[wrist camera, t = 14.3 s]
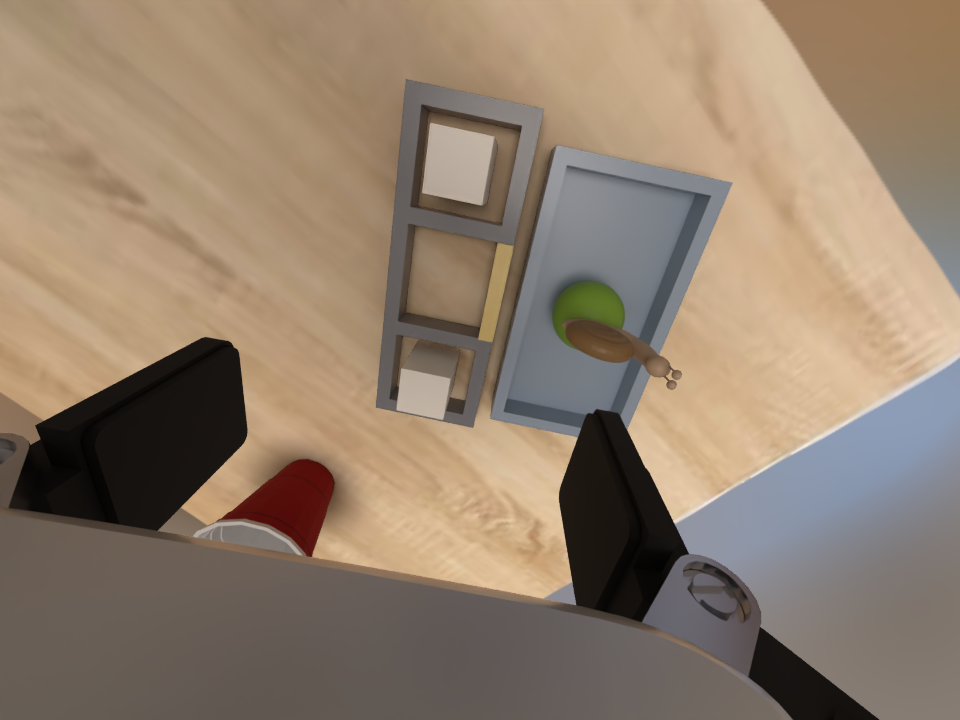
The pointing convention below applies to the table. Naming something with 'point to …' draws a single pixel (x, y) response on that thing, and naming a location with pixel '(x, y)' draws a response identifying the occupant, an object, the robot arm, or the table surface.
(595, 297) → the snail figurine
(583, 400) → the tray
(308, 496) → the plastic cup
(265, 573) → the robot arm
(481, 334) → the rack
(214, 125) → the table surface
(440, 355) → the block
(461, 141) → the block
